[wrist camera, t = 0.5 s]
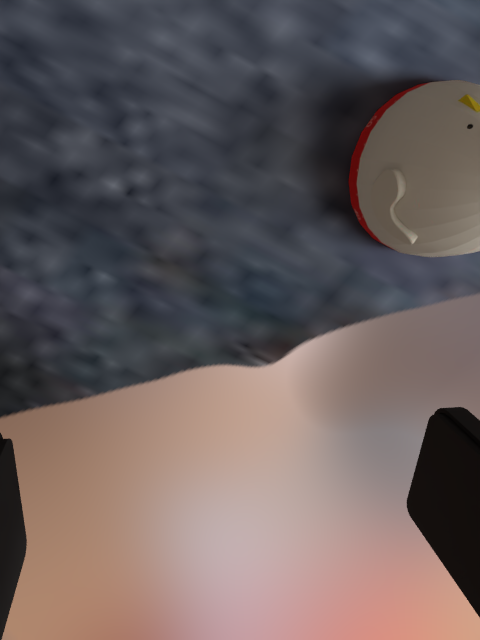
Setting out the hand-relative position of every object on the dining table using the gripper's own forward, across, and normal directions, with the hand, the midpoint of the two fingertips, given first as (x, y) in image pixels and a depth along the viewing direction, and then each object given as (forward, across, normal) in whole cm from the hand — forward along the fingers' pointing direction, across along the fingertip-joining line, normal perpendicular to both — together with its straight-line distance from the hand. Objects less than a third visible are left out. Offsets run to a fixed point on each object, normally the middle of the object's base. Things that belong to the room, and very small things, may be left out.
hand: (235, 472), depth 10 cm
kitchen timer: (+30, -22, -5) cm, 37 cm away
